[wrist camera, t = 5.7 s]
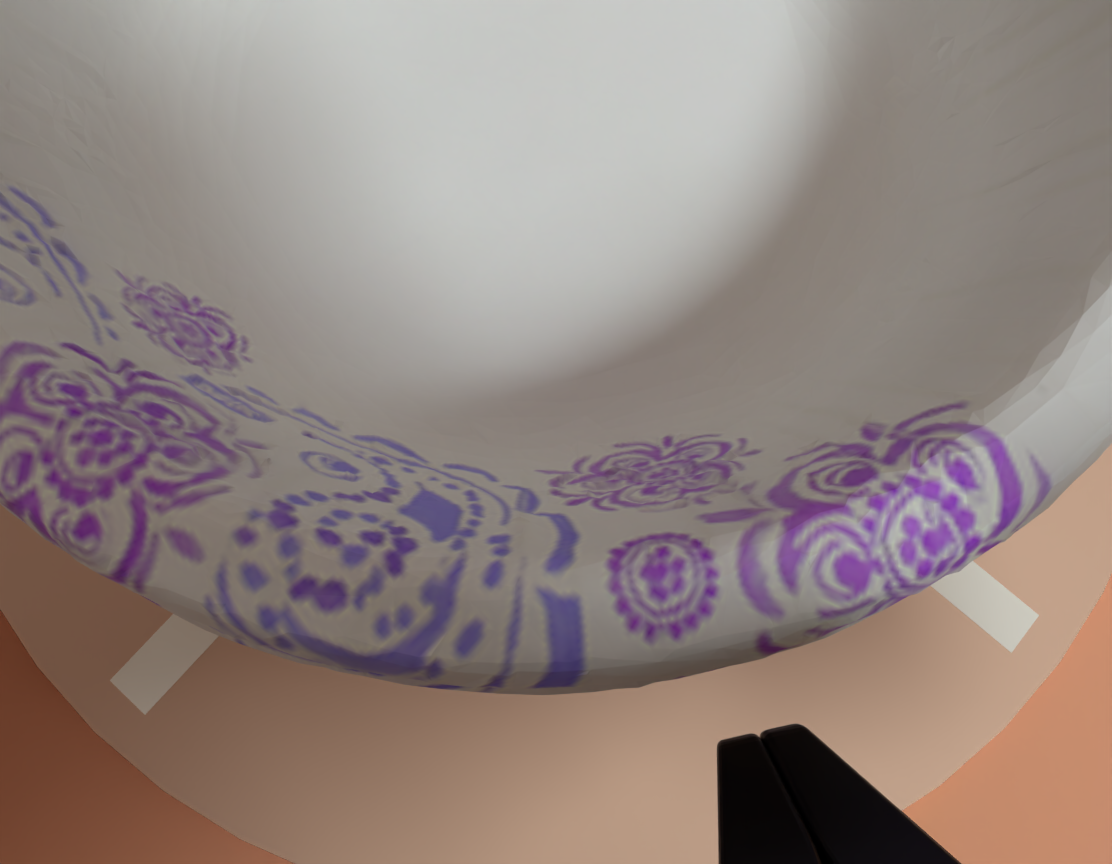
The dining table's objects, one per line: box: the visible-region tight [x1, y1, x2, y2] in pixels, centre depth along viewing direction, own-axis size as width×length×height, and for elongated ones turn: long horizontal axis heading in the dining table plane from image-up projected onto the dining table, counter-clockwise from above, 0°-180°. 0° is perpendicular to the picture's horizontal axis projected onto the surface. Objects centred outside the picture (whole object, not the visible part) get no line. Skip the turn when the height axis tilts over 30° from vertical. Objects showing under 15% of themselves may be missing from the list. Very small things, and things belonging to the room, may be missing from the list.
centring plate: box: [0, 443, 1112, 864], centre depth 17 cm, size 22×22×1 cm
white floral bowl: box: [0, 0, 1112, 695], centre depth 13 cm, size 15×15×8 cm
